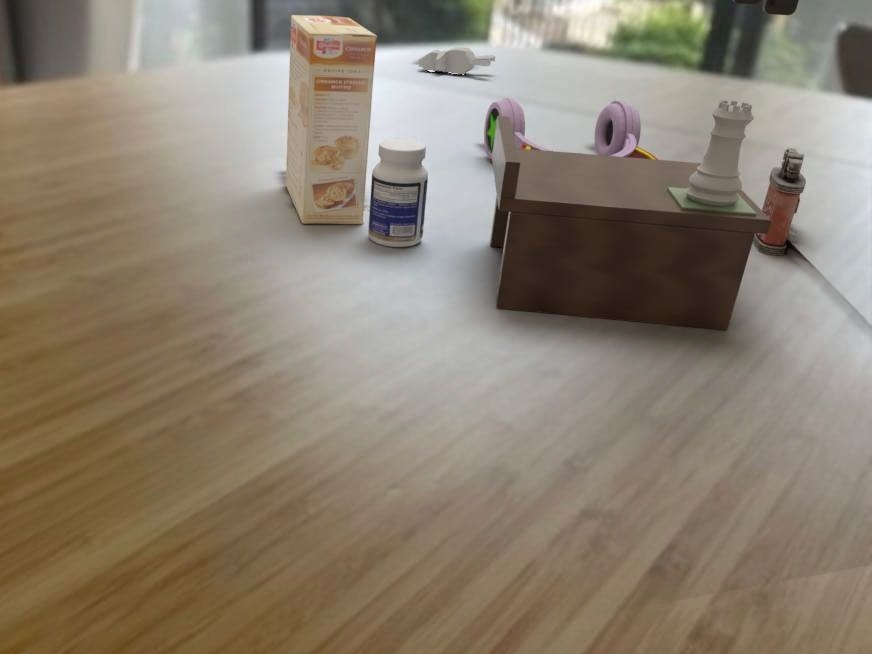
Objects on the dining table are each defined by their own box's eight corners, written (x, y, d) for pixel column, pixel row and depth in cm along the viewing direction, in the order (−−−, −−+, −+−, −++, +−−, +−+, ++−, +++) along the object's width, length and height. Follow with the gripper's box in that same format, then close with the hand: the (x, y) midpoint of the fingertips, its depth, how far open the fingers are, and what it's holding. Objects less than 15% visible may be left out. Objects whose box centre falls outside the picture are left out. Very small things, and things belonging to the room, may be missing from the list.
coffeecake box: (365, 225, 99) (379, 34, 89) (300, 225, 97) (307, 32, 88) (341, 185, 111) (351, 15, 102) (284, 185, 110) (288, 13, 101)
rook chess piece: (750, 206, 76) (777, 109, 72) (705, 208, 75) (730, 109, 71) (716, 191, 80) (740, 97, 76) (673, 192, 79) (695, 98, 75)
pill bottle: (386, 226, 98) (394, 134, 94) (431, 239, 96) (442, 144, 91) (357, 239, 94) (363, 143, 89) (403, 252, 91) (413, 154, 87)
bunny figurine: (425, 46, 192) (496, 44, 187) (426, 72, 194) (496, 70, 190) (415, 52, 184) (489, 50, 179) (415, 78, 186) (488, 77, 182)
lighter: (788, 257, 97) (817, 163, 92) (754, 252, 97) (781, 159, 93) (781, 234, 103) (808, 146, 98) (749, 230, 104) (774, 142, 99)
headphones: (618, 99, 129) (692, 111, 111) (608, 169, 133) (678, 192, 114) (486, 96, 126) (539, 107, 107) (479, 168, 129) (530, 191, 111)
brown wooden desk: (692, 259, 94) (724, 133, 88) (739, 331, 78) (783, 184, 72) (480, 240, 96) (497, 115, 90) (484, 307, 80) (505, 161, 74)
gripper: (927, -259, 56) (844, 22, 64) (842, -230, 68) (781, 2, 76) (802, -264, 56) (735, 16, 64) (739, -234, 69) (690, -3, 77)
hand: (760, 8), depth 70 cm, fingers open, 8 cm apart
